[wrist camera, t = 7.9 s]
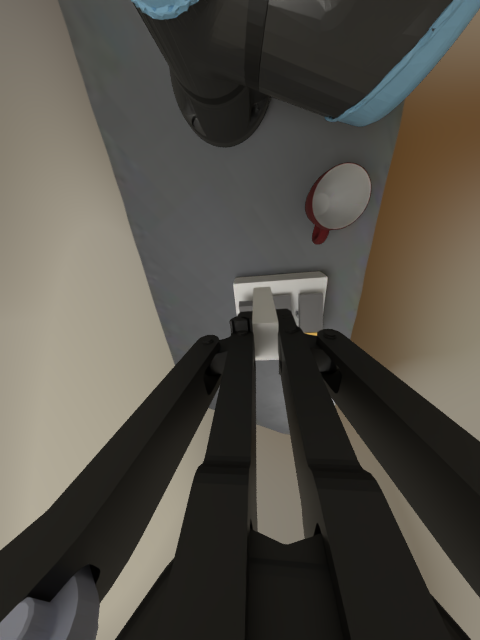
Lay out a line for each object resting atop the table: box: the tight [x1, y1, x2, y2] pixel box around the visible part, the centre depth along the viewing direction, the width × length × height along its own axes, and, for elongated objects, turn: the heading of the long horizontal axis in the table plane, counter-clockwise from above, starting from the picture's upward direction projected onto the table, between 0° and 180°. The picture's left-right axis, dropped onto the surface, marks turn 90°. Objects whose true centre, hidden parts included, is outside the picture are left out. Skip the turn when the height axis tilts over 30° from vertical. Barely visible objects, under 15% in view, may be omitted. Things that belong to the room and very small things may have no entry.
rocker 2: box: [273, 295, 292, 312], centre depth 38 cm, size 10×4×2 cm, turn 5°
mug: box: [305, 163, 371, 244], centre depth 31 cm, size 10×8×10 cm
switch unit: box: [233, 271, 328, 327], centre depth 42 cm, size 15×19×7 cm
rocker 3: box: [298, 293, 323, 336], centre depth 37 cm, size 10×4×2 cm, turn 5°
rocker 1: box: [239, 301, 253, 312], centre depth 38 cm, size 10×4×2 cm, turn 5°
